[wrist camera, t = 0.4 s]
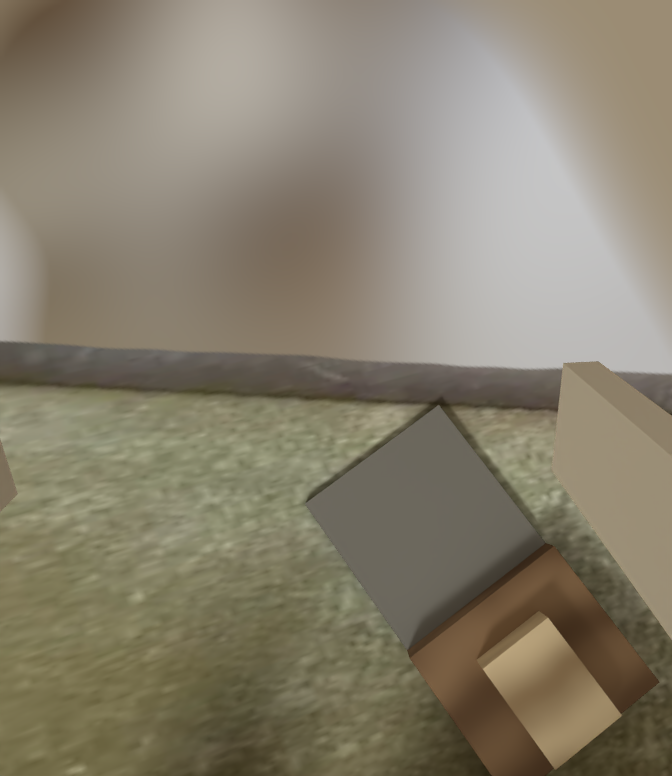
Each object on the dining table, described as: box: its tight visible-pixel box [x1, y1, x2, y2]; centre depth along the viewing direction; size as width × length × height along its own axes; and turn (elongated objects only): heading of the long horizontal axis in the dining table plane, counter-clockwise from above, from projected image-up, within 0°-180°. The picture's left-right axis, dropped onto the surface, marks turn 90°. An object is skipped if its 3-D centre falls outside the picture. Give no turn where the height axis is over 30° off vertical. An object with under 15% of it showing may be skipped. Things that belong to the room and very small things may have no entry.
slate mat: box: [305, 405, 545, 650], centre depth 45 cm, size 14×14×1 cm
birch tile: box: [477, 611, 622, 770], centre depth 39 cm, size 8×6×2 cm
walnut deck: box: [407, 543, 659, 776], centre depth 42 cm, size 12×14×2 cm
